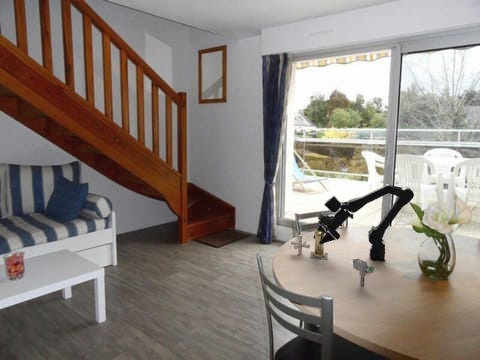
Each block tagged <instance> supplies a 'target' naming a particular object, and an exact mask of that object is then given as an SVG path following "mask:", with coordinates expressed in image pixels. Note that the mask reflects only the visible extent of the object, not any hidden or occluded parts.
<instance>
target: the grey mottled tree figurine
mask: <svg viewBox="0 0 480 360" xmlns="http://www.w3.org/2000/svg"><path fill="white" fill-rule="evenodd" d="M352 266H353V269H354V270H356V271H359V276H360V280H359V286H360V287H363V286H365V280H366V279H365V277H366V276H368V275H371V274H374V271H375V267H374V266H373V265H368V262H367V261H364V260H362V259H360V258H353V259H352Z"/></svg>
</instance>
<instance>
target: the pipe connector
mask: <svg viewBox="0 0 480 360" xmlns="http://www.w3.org/2000/svg"><path fill="white" fill-rule="evenodd" d="M290 245H292V246H293V248H294V250H298V251H297V252H298V253H297V254H298V256H301V255H302V254H303V248H305V249H310V248H311V245H310V244H308V243H307V241H306V240H303V234H298V240H297V241H293V240H291V241H290Z"/></svg>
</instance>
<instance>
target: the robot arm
mask: <svg viewBox="0 0 480 360" xmlns="http://www.w3.org/2000/svg"><path fill="white" fill-rule="evenodd" d="M388 194H390V195H393V196H395V197H396V198H395V200H394V202H393V204H392V205H391V207H390V209H389V210H388V211H387V212H386V214H385V215H384V216H383V217H382V219H381V220H380V222H379V223H378V224H377V225H376V226H374V225H372V226H371V228H370V230H369V231H367V233H368V234H367V237H368V242H369V243H370V245H371V246H370V248H369V259H370V260H371V261H378V262H386V259H385V257H386V242H385V240H384V239H383V238H384V236H385V234H386V231H387V229H388V228H389V226H390V225H391V223H393V221H394V219H396V217H397V216H398V214H399V212H400V211H401V210H403V208H404V207H405V206H407V205H408V204H409V203H410V202H411V201H412V200H413V199H414V197H415V193H414V191H413V189H411V187H408V186H396V185H392V184H389V183H386V184H384V186H381V187H379V188H377V189H375V190H373V191H371V192H369V193H367V194H364V195H362V196H359V197H355V198H351V199H349V200H348V201H340V200H339V199H338V198H337V197H336V196H335V195H333V196H331V197H330V198H329V199H328V200H326V201H325V203H324V204H323V205H324V206H325V207H326V208H327V209H328V211H330V212H331V213H335V214H334V215H328V214H323V213H319V215H318V217H317V220H318V221H317V229H316V231H323V232H325V235H324V237H323V238H322V239H321V241H320V242H319V244H320V245H321V244H324V245H325V244H327V243H329V242H332V241H338V240H340V238H341V234H340V233H339V232H338V231H337V230H338V228H340V227H341V228H342V227H343V224H344V223H345V222H346V221H347V220H348V219H349V218H350V219H352V220H354V214H355V213H356V212H358V211H359V210H361V209H362V208H364V206H366V205H367V204H370V203H371V202H374V201H375V200H378V199H380V198H382V197H384V196H385V195H388ZM313 239H314V240H315V234H314V235H313Z"/></svg>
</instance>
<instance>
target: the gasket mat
mask: <svg viewBox="0 0 480 360" xmlns="http://www.w3.org/2000/svg"><path fill="white" fill-rule="evenodd" d="M313 252H314V251H310V255H309V259H314V258H315V260H316V259H317V260H329V258H328V257H329V253H328V252H324V253H325V257H315V256H313Z"/></svg>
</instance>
